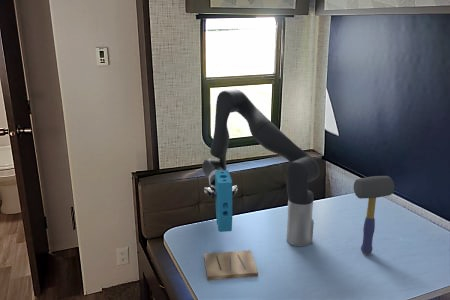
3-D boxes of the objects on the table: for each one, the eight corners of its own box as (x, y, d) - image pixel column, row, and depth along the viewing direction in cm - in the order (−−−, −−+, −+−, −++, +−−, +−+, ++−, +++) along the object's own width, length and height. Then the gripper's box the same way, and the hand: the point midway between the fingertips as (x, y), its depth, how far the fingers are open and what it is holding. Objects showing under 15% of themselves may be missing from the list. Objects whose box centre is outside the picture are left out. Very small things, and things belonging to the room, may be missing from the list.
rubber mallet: (375, 245, 164) (384, 171, 155) (387, 256, 157) (397, 179, 148) (345, 250, 161) (352, 174, 152) (356, 261, 155) (364, 182, 145)
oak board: (250, 253, 159) (250, 250, 159) (258, 276, 146) (258, 272, 146) (204, 257, 157) (204, 253, 157) (207, 280, 144) (207, 276, 144)
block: (232, 233, 158) (232, 182, 152) (219, 234, 157) (218, 183, 151) (228, 218, 169) (228, 170, 163) (215, 219, 169) (214, 170, 162)
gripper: (201, 173, 174) (204, 191, 157) (235, 171, 175) (242, 189, 159) (201, 191, 176) (205, 210, 160) (235, 189, 178) (242, 207, 161)
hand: (223, 199), depth 159 cm, fingers closed on block, 2 cm apart
